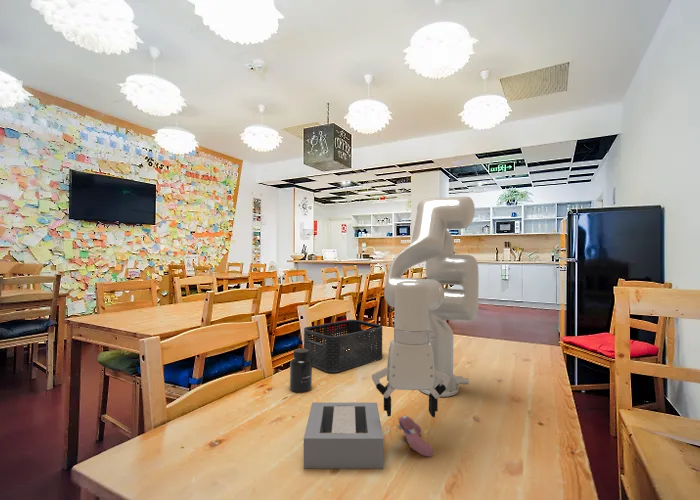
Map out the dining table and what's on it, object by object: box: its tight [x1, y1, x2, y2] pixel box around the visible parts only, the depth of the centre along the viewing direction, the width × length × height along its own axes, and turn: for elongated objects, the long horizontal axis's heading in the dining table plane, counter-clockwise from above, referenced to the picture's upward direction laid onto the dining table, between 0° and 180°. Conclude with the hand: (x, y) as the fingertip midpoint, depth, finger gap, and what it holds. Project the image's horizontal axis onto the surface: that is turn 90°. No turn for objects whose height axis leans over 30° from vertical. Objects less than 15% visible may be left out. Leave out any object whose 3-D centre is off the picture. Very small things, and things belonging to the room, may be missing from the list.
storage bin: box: [303, 319, 383, 373], centre depth 135 cm, size 29×19×13 cm
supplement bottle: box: [289, 348, 313, 393], centre depth 108 cm, size 7×7×12 cm
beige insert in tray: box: [331, 406, 357, 434], centre depth 77 cm, size 5×13×2 cm, turn 0°
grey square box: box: [303, 401, 384, 469], centre depth 77 cm, size 16×16×6 cm
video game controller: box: [397, 414, 434, 458], centre depth 77 cm, size 10×5×7 cm, turn 5°
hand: (410, 414), depth 76 cm, fingers open, 9 cm apart
